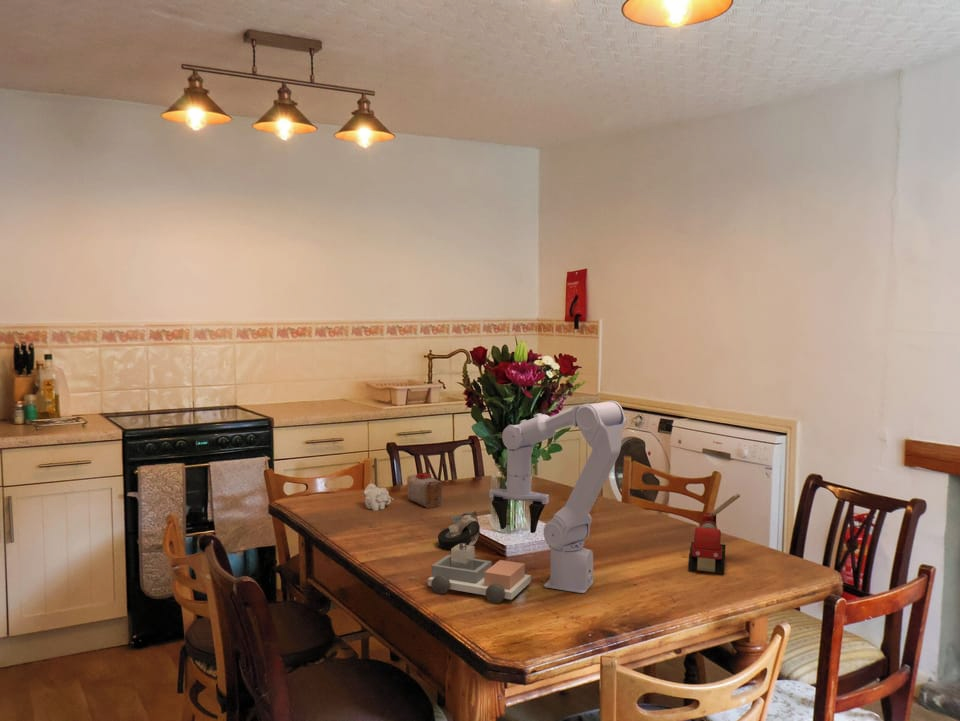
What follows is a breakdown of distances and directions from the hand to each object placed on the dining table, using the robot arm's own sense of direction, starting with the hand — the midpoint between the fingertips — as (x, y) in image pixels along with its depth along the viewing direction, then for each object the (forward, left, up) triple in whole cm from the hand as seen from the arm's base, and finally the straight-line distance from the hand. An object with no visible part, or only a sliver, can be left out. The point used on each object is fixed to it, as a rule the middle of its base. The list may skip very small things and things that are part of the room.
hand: (518, 530), depth 195 cm
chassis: (+3, +16, -9) cm, 19 cm away
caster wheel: (+20, -11, -10) cm, 25 cm away
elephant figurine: (+59, -34, -10) cm, 69 cm away
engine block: (+8, +15, -7) cm, 18 cm away
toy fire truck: (-43, -22, -10) cm, 49 cm away
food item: (+49, -46, -10) cm, 68 cm away
